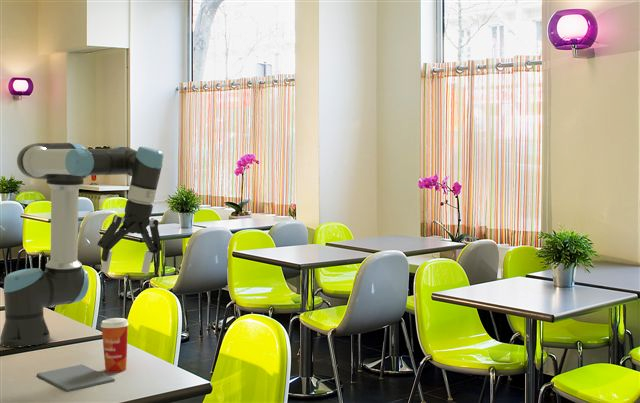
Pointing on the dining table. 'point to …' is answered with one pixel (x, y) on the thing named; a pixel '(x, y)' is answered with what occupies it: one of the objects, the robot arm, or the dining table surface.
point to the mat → (75, 377)
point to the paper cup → (115, 343)
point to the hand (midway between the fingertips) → (124, 272)
